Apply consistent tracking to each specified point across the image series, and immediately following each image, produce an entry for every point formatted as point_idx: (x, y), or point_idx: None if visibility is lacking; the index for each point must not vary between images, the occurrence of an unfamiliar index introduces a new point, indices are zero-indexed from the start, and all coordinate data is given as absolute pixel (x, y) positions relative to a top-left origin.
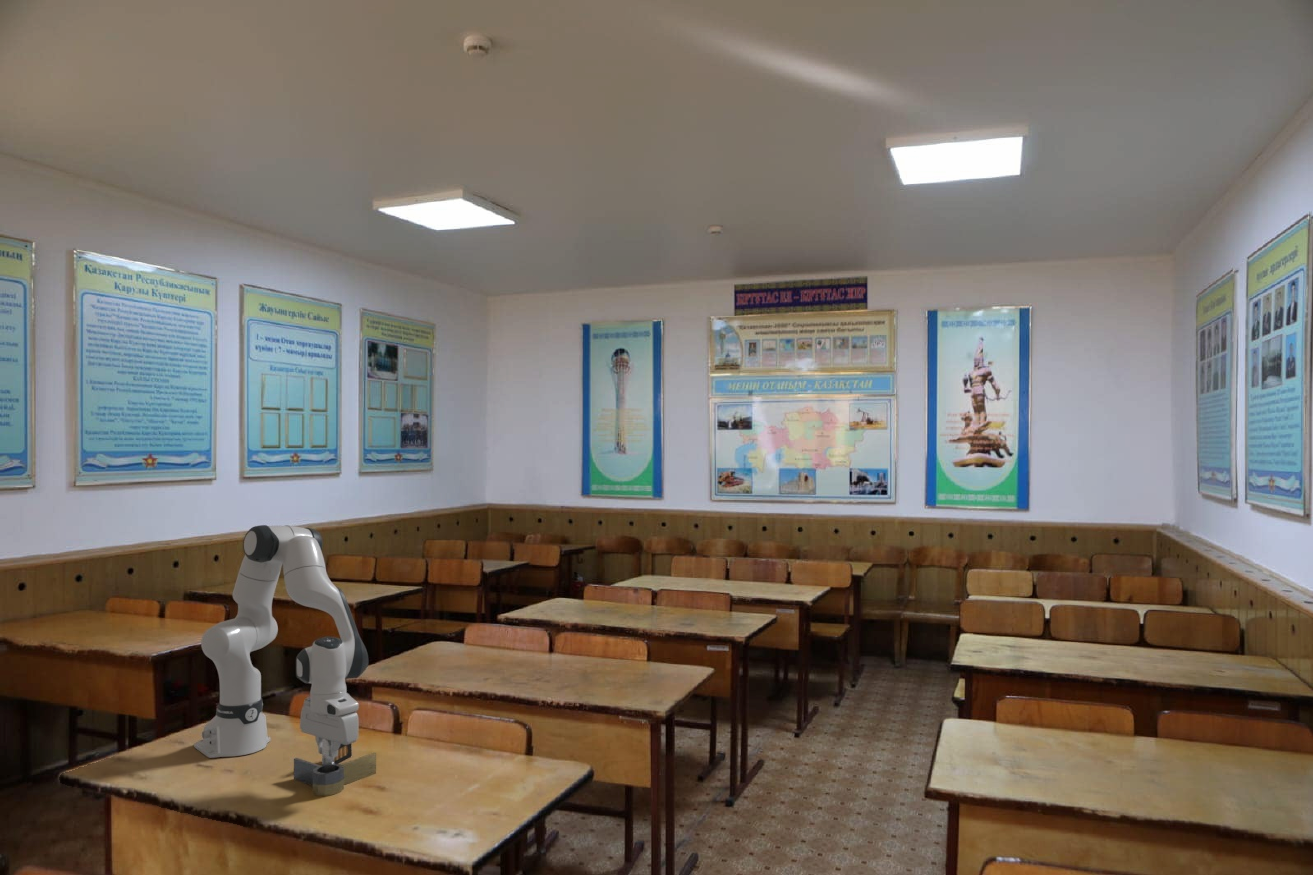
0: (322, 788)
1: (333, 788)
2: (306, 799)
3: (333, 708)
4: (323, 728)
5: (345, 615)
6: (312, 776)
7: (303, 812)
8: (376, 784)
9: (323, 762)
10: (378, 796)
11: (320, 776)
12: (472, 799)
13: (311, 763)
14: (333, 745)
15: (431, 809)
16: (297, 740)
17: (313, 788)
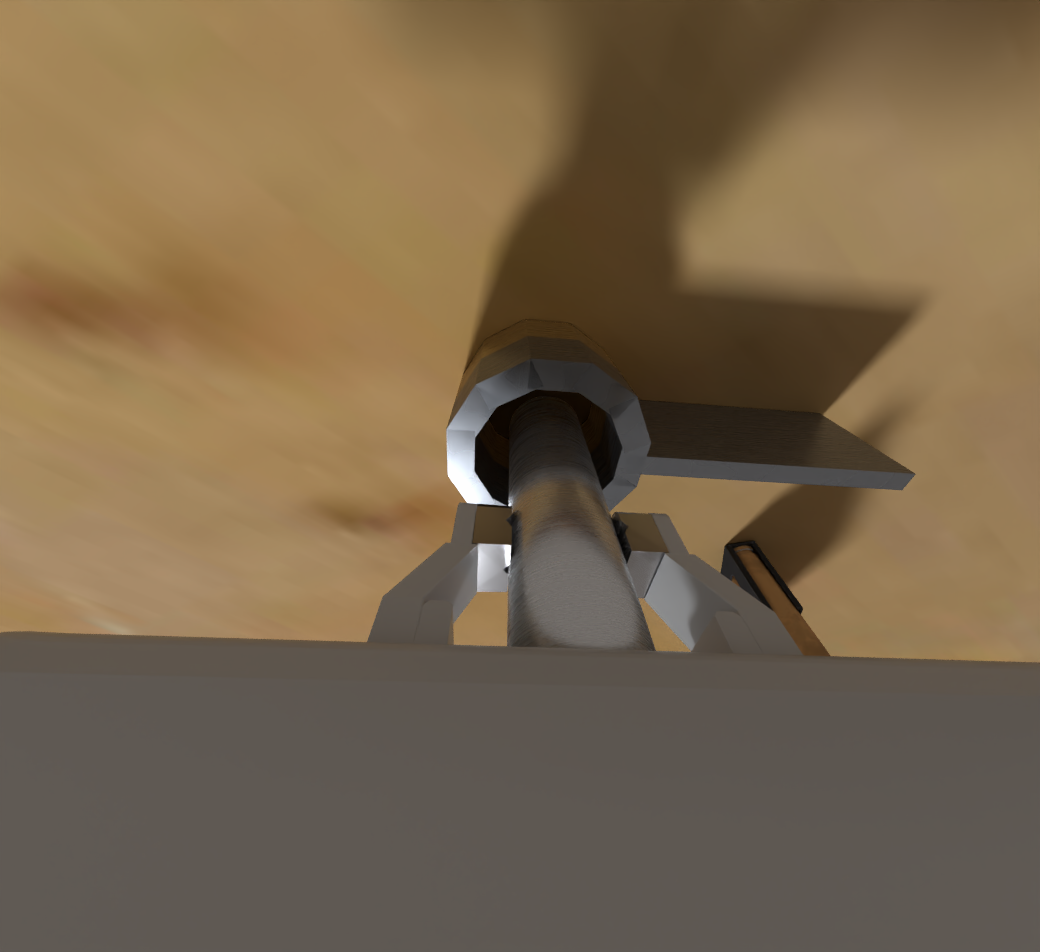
0: (500, 343)
1: (460, 386)
2: (541, 238)
3: None
4: (611, 886)
5: None
6: (680, 423)
7: (344, 12)
8: (407, 532)
9: (557, 455)
10: (265, 459)
11: (512, 361)
12: None
13: (733, 470)
14: (402, 594)
15: None
16: (1002, 640)
17: (571, 330)
